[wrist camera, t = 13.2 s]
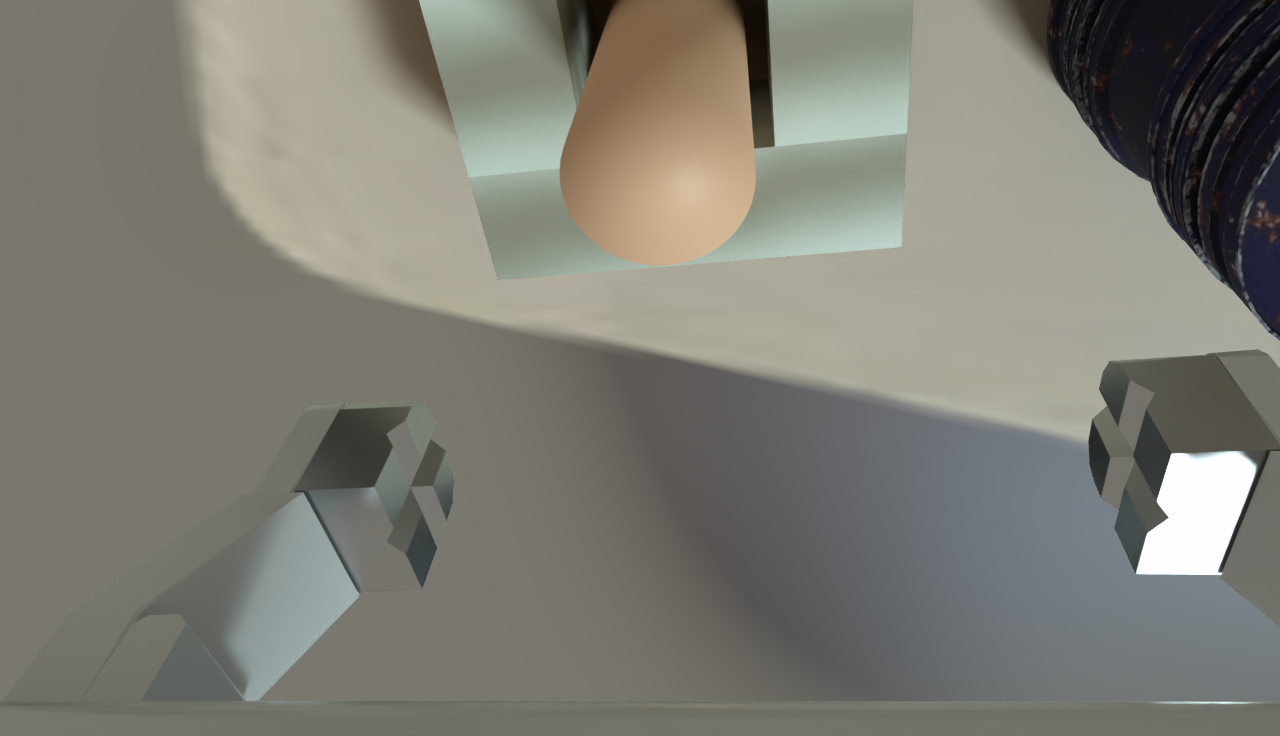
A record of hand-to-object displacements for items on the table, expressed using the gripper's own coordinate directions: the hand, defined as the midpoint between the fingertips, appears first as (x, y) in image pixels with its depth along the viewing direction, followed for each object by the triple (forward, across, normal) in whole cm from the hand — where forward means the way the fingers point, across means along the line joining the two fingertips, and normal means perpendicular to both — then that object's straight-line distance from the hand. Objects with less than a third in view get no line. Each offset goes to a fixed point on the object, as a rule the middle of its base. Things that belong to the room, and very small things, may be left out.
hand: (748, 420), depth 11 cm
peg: (+24, +2, +1) cm, 24 cm away
